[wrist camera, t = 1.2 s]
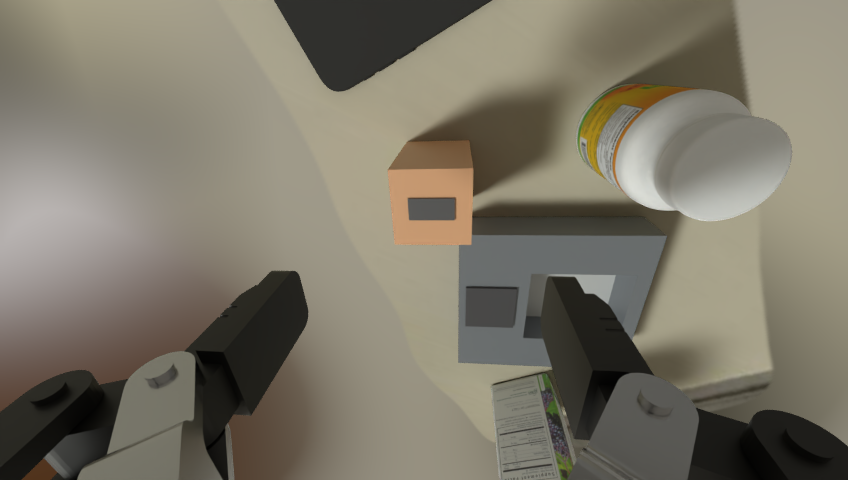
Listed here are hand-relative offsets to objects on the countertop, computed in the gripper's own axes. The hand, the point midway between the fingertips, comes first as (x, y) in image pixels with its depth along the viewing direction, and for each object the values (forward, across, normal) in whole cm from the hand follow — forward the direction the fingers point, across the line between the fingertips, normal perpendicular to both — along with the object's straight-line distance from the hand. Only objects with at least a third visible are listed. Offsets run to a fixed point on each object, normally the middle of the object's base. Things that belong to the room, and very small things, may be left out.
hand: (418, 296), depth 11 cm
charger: (+14, 0, 0) cm, 14 cm away
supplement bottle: (+14, -11, -3) cm, 19 cm away
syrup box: (+15, -8, +23) cm, 28 cm away
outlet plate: (+14, -8, +9) cm, 19 cm away
